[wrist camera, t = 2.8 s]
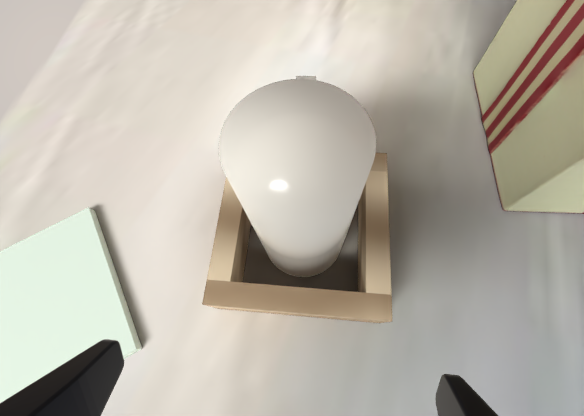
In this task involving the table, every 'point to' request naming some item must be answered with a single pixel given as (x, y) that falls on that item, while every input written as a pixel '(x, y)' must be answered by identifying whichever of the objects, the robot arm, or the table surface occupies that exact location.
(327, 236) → the white tall cylinder
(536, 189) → the gift box
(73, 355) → the pad
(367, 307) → the collar
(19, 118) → the table surface
